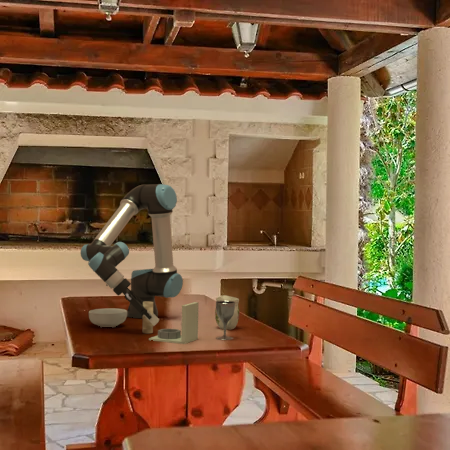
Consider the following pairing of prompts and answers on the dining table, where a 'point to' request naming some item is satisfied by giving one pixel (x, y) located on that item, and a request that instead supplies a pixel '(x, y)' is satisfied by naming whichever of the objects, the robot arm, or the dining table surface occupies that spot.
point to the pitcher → (234, 319)
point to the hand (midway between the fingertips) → (156, 322)
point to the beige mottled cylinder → (146, 324)
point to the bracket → (188, 327)
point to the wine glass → (225, 315)
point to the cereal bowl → (107, 317)
